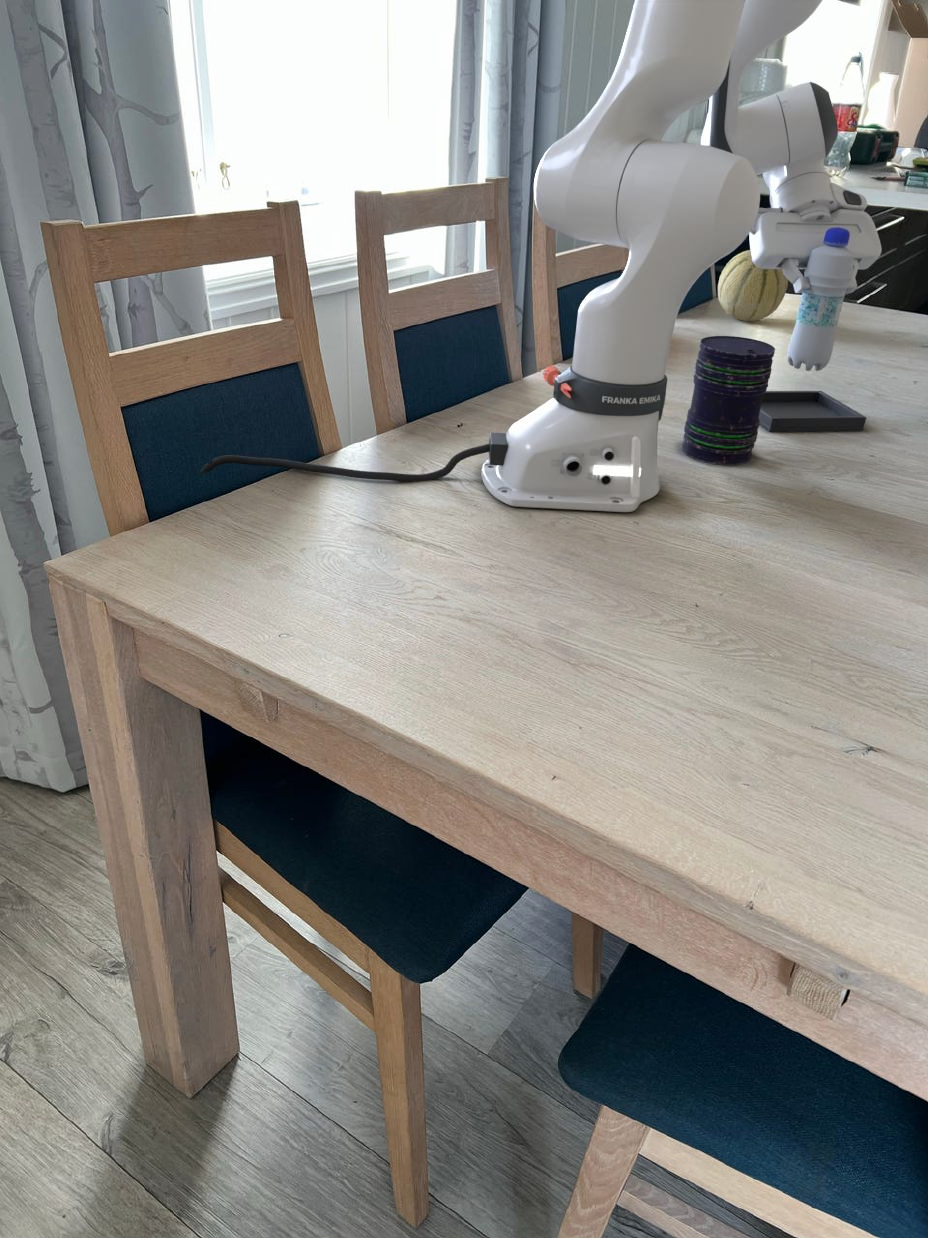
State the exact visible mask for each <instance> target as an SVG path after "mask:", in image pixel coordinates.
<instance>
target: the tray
mask: <svg viewBox="0 0 928 1238" xmlns="http://www.w3.org/2000/svg"><path fill="white" fill-rule="evenodd" d="M759 419H760V422H759V426H761V427H762V428H763V429H765V430H766V431H767V432H769V433H784V432H785V433H788V432H791V433H792V432H793V433H794V432H796V433H797V432H857V431H860V432H861V431H864V428H865V425H866V421H867V416H865V415H863V414H861V413H860V412H858V411H857V410H854V409H853V408H851V406H850V407H849V406H848V405H846V404H844V403H843V402H841V401H840V400H838V399H836V398H834V397H833V396H831V395H830V394H827V392H824V391H822V390H766V392H765V393H764V395H763V399H762V404H761V408H760V413H759Z"/></svg>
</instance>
